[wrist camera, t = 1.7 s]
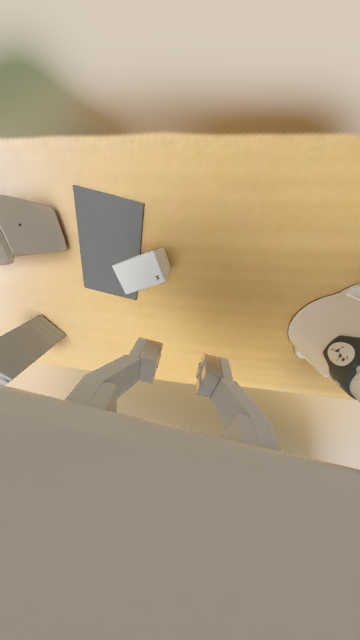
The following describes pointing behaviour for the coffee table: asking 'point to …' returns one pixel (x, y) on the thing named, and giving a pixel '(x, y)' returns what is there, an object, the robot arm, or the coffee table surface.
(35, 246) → the stereo radio cassette player
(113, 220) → the mat
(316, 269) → the coffee table surface
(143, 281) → the skincare box
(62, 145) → the coffee table surface
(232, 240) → the coffee table surface
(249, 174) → the coffee table surface
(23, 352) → the skincare box
